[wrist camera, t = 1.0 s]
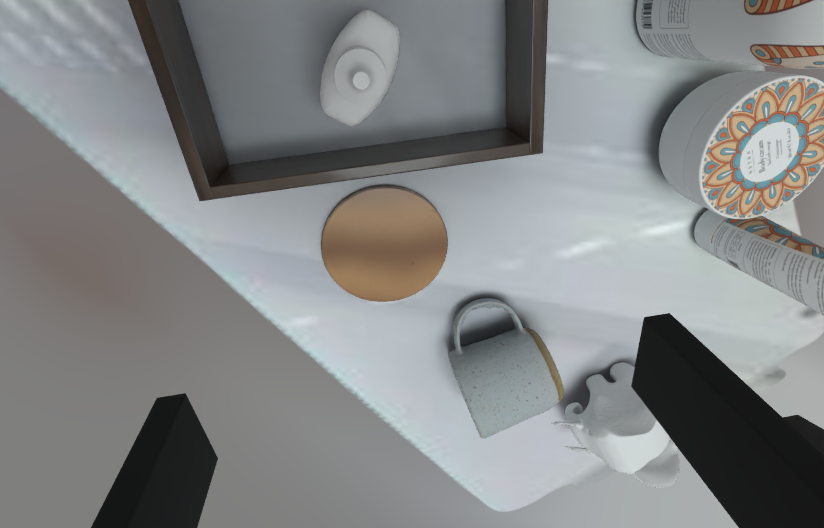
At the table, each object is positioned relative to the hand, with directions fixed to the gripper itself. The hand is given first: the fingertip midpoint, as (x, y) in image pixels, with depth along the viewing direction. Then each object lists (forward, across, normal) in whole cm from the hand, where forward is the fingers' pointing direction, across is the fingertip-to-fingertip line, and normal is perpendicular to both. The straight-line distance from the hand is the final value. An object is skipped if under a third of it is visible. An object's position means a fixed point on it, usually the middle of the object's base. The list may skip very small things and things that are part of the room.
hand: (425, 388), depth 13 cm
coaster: (+22, 0, -6) cm, 23 cm away
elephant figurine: (+22, +19, -27) cm, 40 cm away
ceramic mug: (+22, +7, -18) cm, 30 cm away
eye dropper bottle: (+23, 0, +7) cm, 24 cm away
